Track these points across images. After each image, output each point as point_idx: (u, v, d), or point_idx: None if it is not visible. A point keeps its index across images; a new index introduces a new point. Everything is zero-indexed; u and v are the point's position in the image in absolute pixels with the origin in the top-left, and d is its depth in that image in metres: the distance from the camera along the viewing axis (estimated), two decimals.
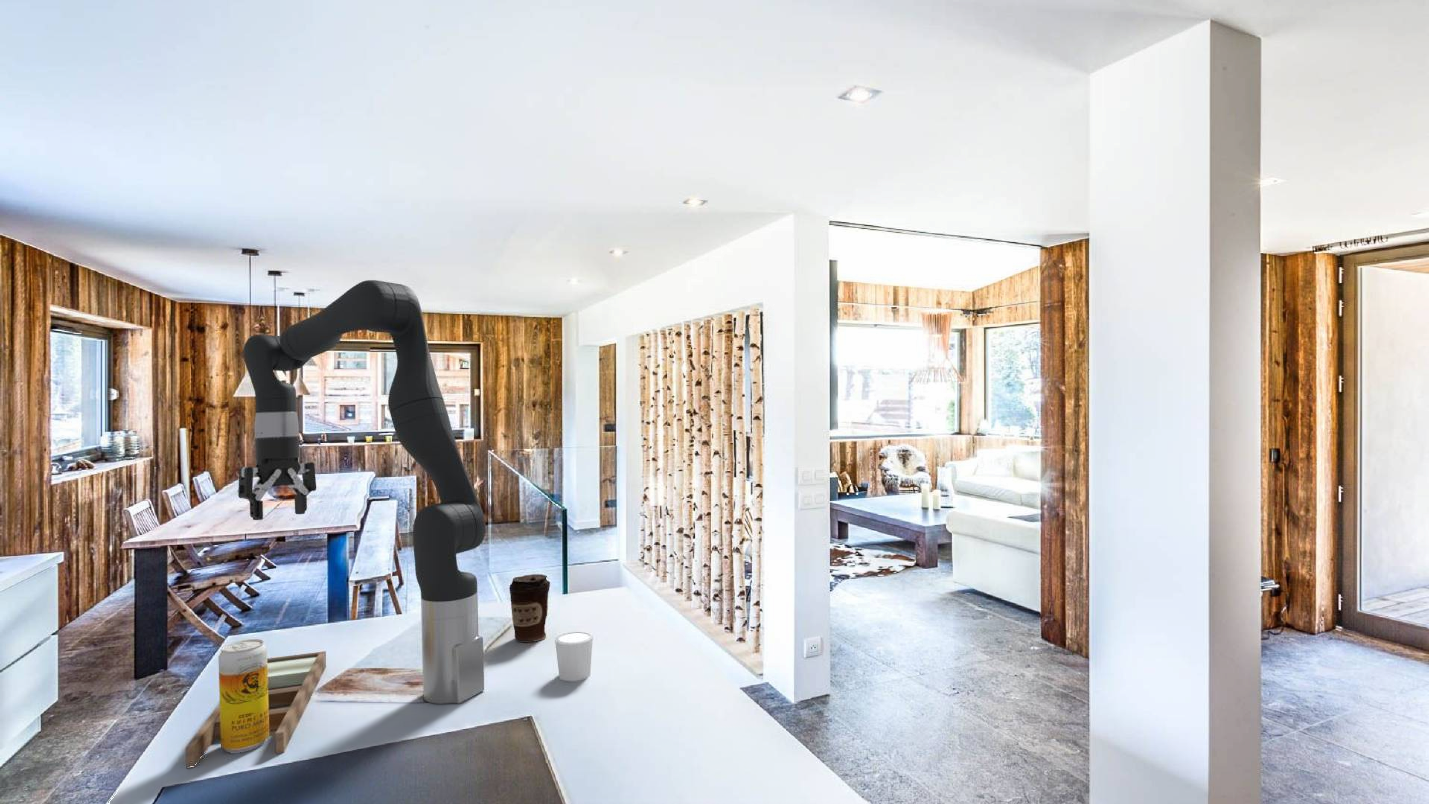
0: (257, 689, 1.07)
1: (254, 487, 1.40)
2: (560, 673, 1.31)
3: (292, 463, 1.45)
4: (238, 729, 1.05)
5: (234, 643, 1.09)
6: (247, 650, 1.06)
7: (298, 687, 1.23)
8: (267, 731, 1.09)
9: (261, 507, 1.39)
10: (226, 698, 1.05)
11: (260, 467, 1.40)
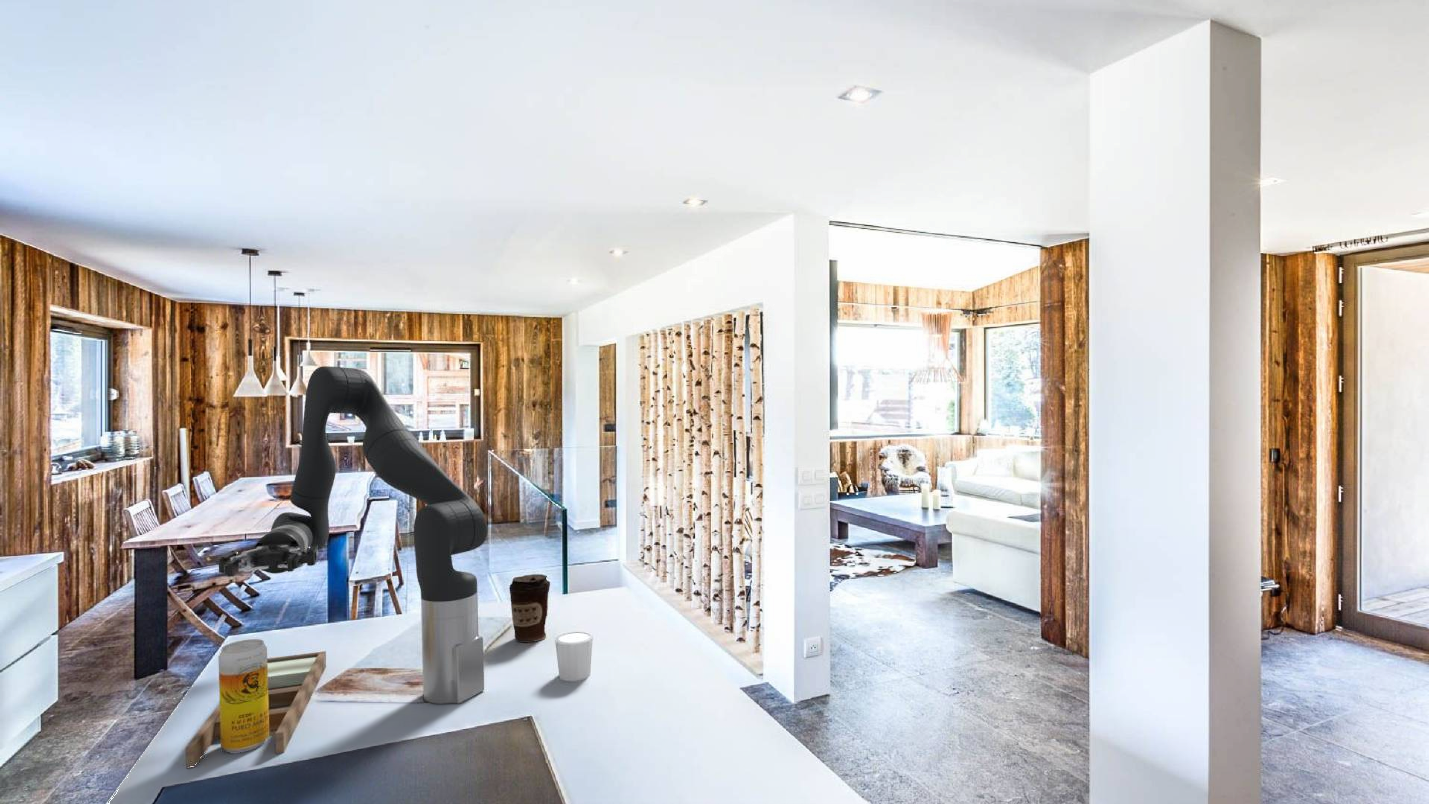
0: (257, 689, 1.07)
1: None
2: (560, 673, 1.31)
3: None
4: (238, 729, 1.05)
5: (234, 643, 1.09)
6: (247, 650, 1.06)
7: (298, 687, 1.23)
8: (267, 731, 1.09)
9: (234, 560, 1.19)
10: (226, 698, 1.05)
11: None
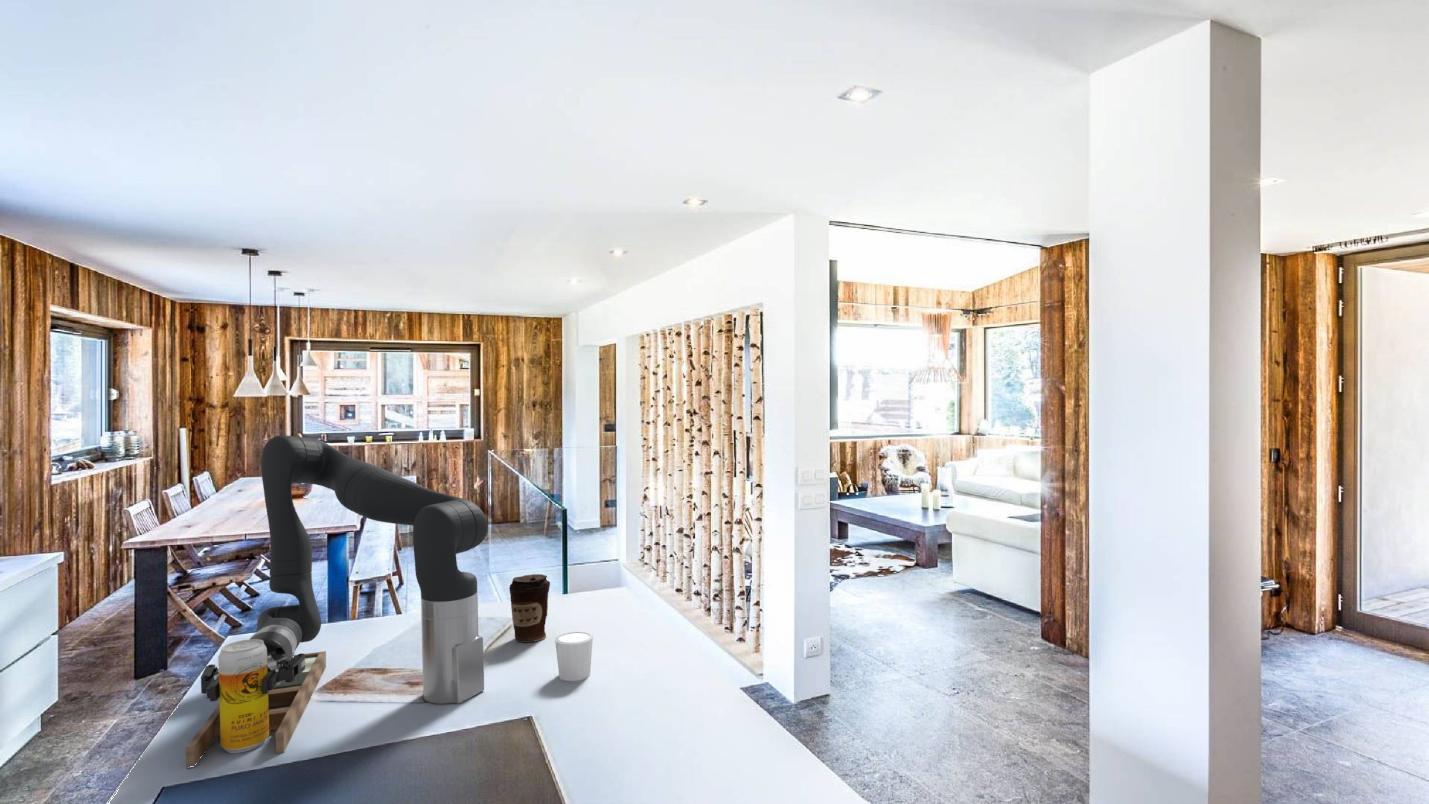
0: (257, 689, 1.07)
1: None
2: (560, 673, 1.31)
3: (275, 655, 1.17)
4: (238, 729, 1.05)
5: (234, 643, 1.09)
6: (247, 650, 1.06)
7: (298, 687, 1.23)
8: (267, 731, 1.09)
9: (218, 680, 1.07)
10: (226, 698, 1.05)
11: None
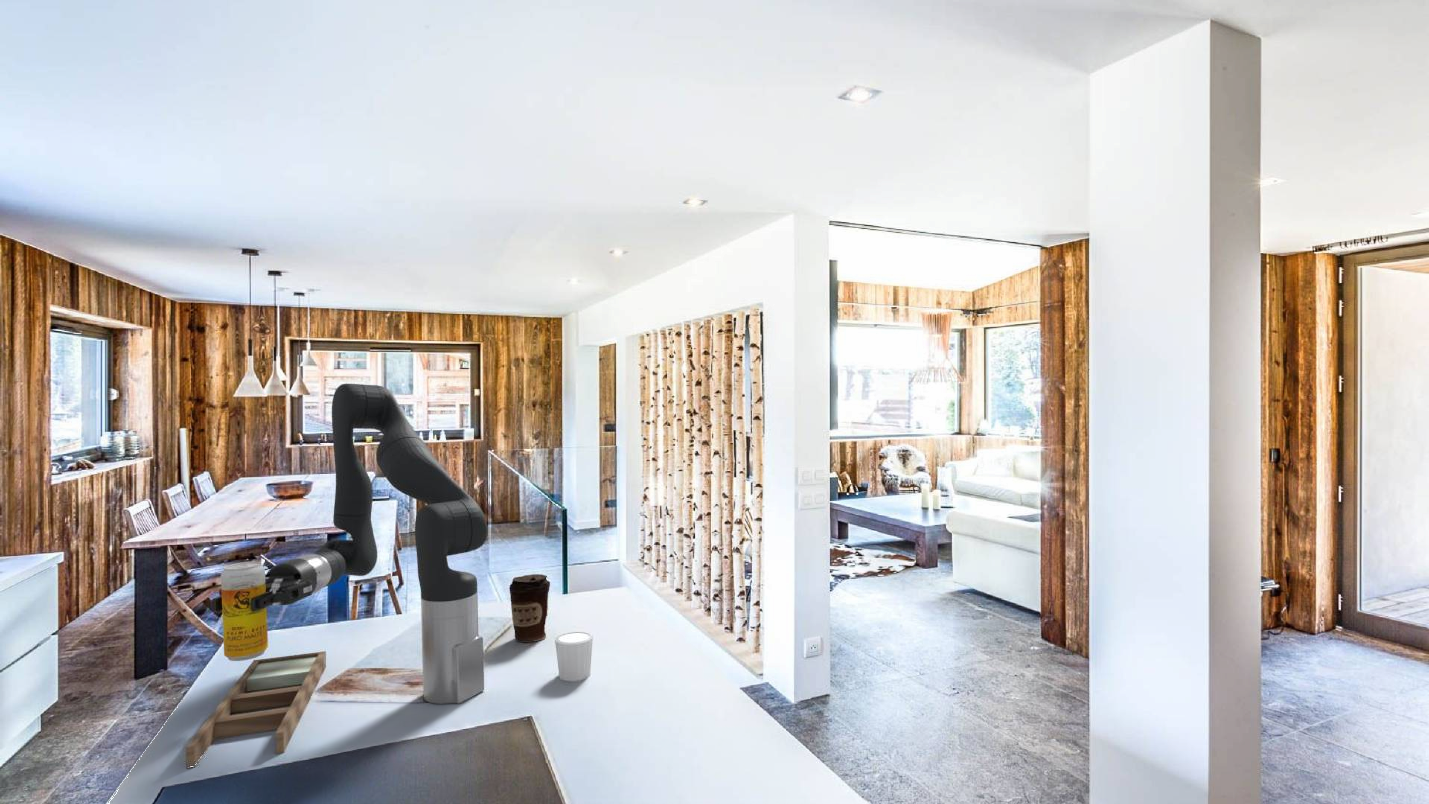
0: (248, 606, 1.17)
1: None
2: (560, 673, 1.31)
3: (291, 580, 1.28)
4: (232, 640, 1.16)
5: (241, 563, 1.21)
6: (239, 569, 1.17)
7: (298, 687, 1.23)
8: (261, 646, 1.19)
9: None
10: (223, 610, 1.17)
11: None
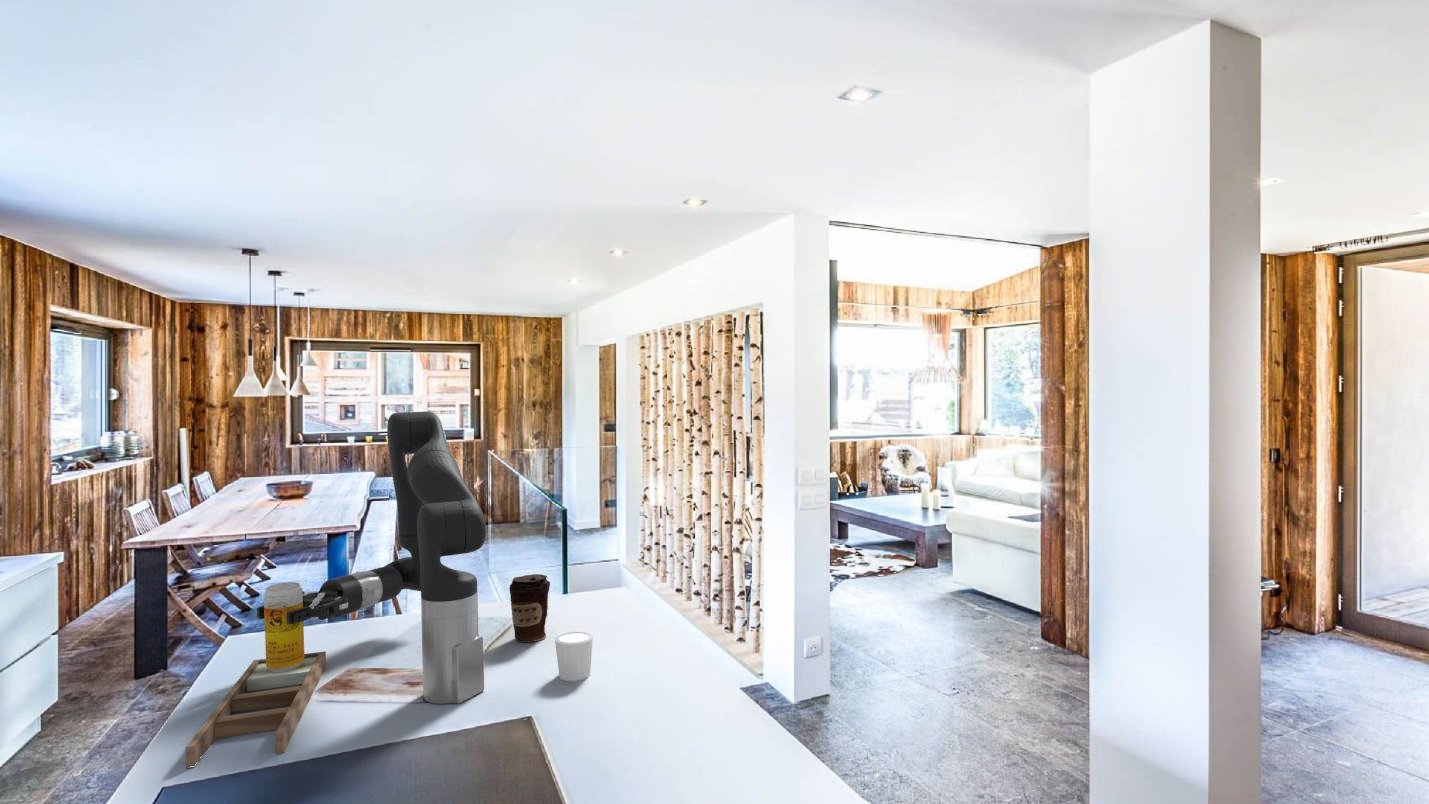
0: (280, 624, 1.30)
1: None
2: (560, 673, 1.31)
3: (333, 596, 1.39)
4: (268, 652, 1.30)
5: (287, 583, 1.35)
6: (274, 590, 1.30)
7: (298, 687, 1.23)
8: (293, 661, 1.31)
9: None
10: None
11: None
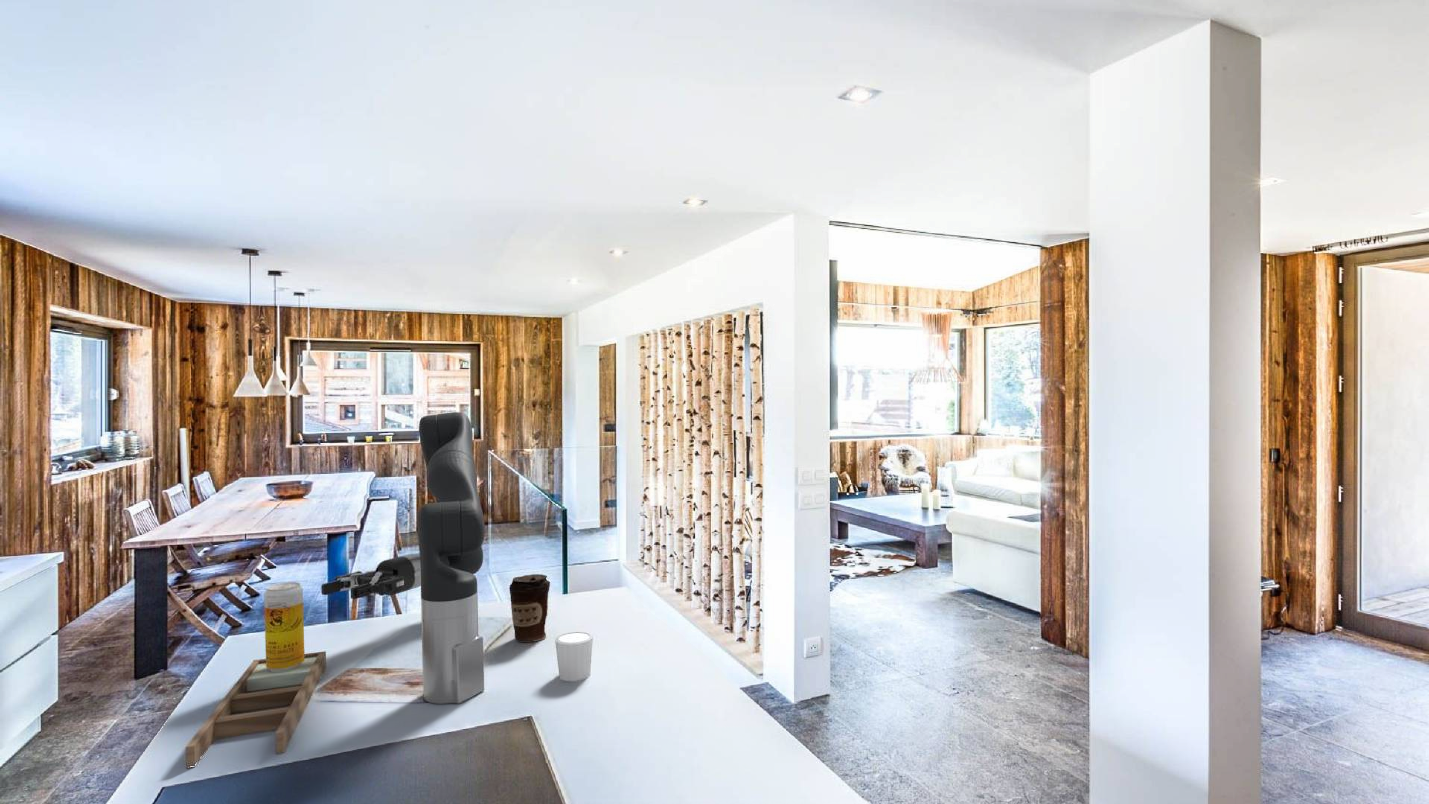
0: (280, 624, 1.30)
1: None
2: (560, 673, 1.31)
3: (389, 575, 1.51)
4: (268, 652, 1.30)
5: (287, 583, 1.35)
6: (274, 590, 1.30)
7: (298, 687, 1.23)
8: (293, 661, 1.31)
9: (333, 581, 1.46)
10: (265, 625, 1.31)
11: None
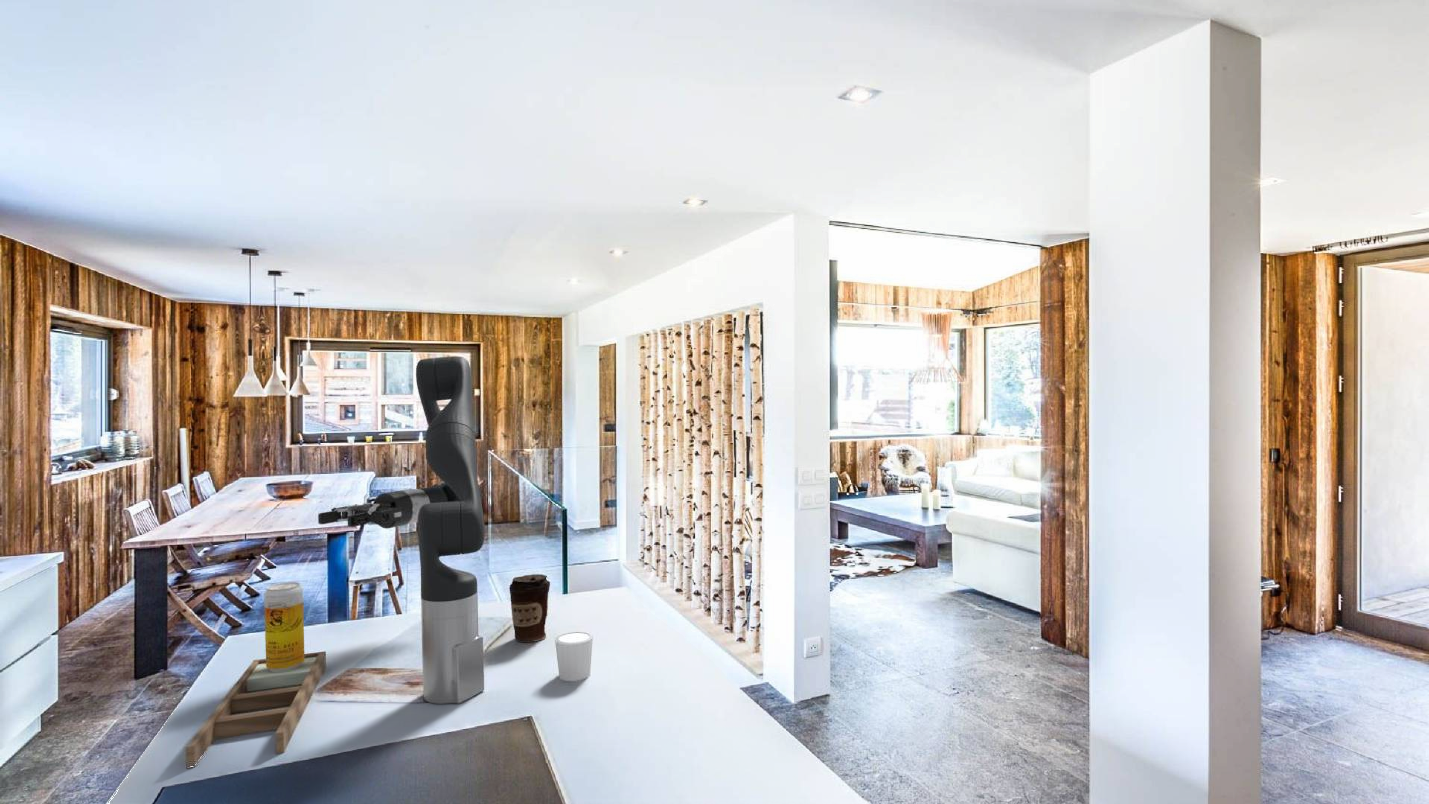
0: (280, 624, 1.30)
1: None
2: (560, 673, 1.31)
3: (386, 507, 1.49)
4: (268, 652, 1.30)
5: (287, 583, 1.35)
6: (275, 590, 1.30)
7: (298, 687, 1.23)
8: (293, 661, 1.31)
9: (330, 511, 1.45)
10: (265, 625, 1.31)
11: None
